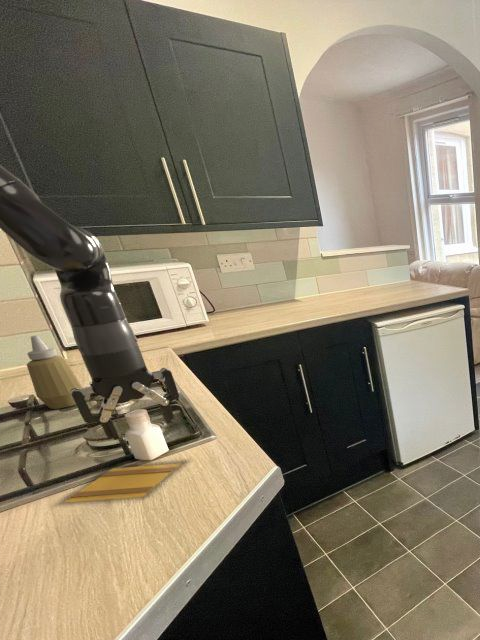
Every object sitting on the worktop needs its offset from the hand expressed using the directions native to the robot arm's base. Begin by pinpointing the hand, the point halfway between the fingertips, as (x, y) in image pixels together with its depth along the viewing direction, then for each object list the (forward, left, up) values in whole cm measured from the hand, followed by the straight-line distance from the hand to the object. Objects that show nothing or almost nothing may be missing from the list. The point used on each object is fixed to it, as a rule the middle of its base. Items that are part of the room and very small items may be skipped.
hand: (142, 429), depth 79 cm
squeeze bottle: (-41, +30, -6) cm, 51 cm away
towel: (+2, -10, -6) cm, 11 cm away
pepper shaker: (0, 0, -6) cm, 6 cm away
